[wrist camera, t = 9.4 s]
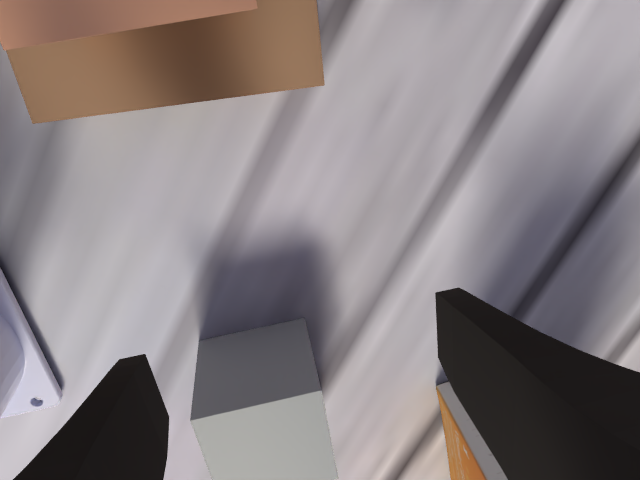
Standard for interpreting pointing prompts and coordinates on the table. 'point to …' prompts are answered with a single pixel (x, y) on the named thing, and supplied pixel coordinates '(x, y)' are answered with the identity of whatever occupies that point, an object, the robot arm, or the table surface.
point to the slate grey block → (262, 406)
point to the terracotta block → (98, 17)
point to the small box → (465, 441)
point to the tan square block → (173, 63)
